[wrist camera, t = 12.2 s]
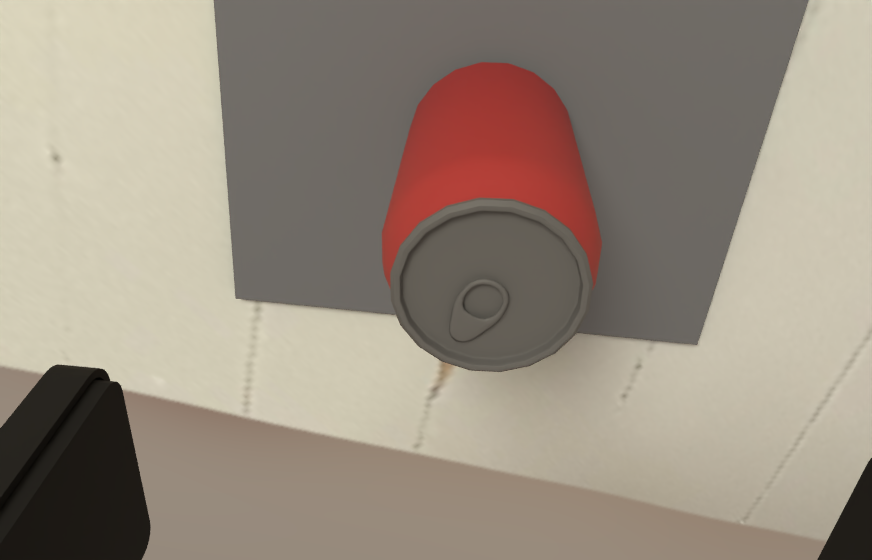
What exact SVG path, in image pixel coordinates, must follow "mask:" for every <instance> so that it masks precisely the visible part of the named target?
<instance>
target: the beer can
mask: <svg viewBox="0 0 872 560" xmlns="http://www.w3.org/2000/svg"><path fill="white" fill-rule="evenodd" d="M601 247H602V240H601V235H600V231H599V226H598V222H597V217H596V212H595V209H594V205H593V202H592V198H591V194H590V191H589V187H588V183H587V180H586V176H585V172H584V169H583V165H582V161H581V158H580V154H579V151H578V147H577V143H576V140H575V136H574V132H573V129H572V125H571V121H570V118H569V114H568V111H567V109H566V107H565V106H564V104H563V102H562V101H561V99H560V98H559V96H558V94H557V93H556V91H555V90H554V88H552V87H551V86H550V85H549V84H547V83H546V82H545V81H544V80H542V79H541V78H540V77H539V76H537V75H536V74H535V73H534V72H531V71H528V70H526V69H523V68H520V67H518V66H515V65H512V64H509V63H490V62H480V63H477V64H473V65H470V66H466V67H463V68H460V69H456V70H454V71H453V72H451V73H450V74H448V75H447V76H445V77H444V78H442V79H441V80H439V81H438V82H437V83H435V84H434V85H433V86H432V87H431V88H430V90H429V91H428V92H427V94H426V95H425V96H424V98H423V99H422V100H421V101H420V103H419V104H418V106H417V109H416V112H415V115H414V118H413V121H412V123H411V126H410V130H409V133H408V137H407V141H406V144H405V148H404V152H403V156H402V159H401V163H400V167H399V171H398V174H397V178H396V182H395V186H394V189H393V193H392V197H391V200H390V204H389V208H388V212H387V215H386V219H385V223H384V227H383V230H382V264H383V269H384V275H385V277H386V280H387V282H388V285H389V288H390V291H391V302H392V305H393V307H394V310H395V313H396V315H397V318H398V320H399V323H400V325H401V326H402V328H403V329H404V330H405V331H406V332H407V333H408V335H409V336H410V337H411V338H412V339H413V340H414V342H415V343H416V344H417V345H418V346H419V347H420V348H422V349H424V350H425V351H427V352H428V353H430V354H431V355H433V356H434V357H436V358H438V359H439V360H441V361H442V362H445V363H449V364H452V365H455V366H458V367H461V368H464V369H468V370H474V371H493V372H502V371H507V370H512V369H517V368H522V367H527V366H530V365H532V364H534V363H536V362H538V361H540V360H542V359H544V358H546V357H548V356H550V355H552V354H554V353H556V352H557V351H558V350H559V349H560V348H561V347H562V346H563V345H565V344H566V343H567V342H568V341H569V340H570V339H571V338H572V337H573V336H574V335H575V334H576V333H577V331H578V329H579V328H580V326H581V324H582V322H583V320H584V319H585V317H586V315H587V313H588V311H589V309H590V302H591V295H592V290H593V288H594V286H595V285H596V279H597V274H598V267H599V261H600V254H601Z"/></svg>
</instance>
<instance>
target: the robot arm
mask: <svg viewBox="0 0 872 560" xmlns="http://www.w3.org/2000/svg"><path fill="white" fill-rule="evenodd" d="M149 536H150V520H149V515H148V511H147V505H146V501H145V496H144V491H143V487H142V482H141V477H140V472H139V467H138V462H137V458H136V453H135V448H134V443H133V439H132V434H131V429H130V425H129V420H128V415H127V410H126V406H125V401H124V396H123V391H122V388H121V385H120V384H119V383H118V382H113V381H110V378H109V376H108V373H107V372H106V371H105V370H104V369H99V368H89V367H79V366H68V365H55V366H52V367H51V368H50V369H49V370H48V371H47V372H46V373H45V374H44V375H43V377H42V378H41V379H40V380H39V381H38V383H37V384H36V385H35V387H34V388H33V389H32V390H31V391H30V393H29V394H28V395H27V396H26V398H25V399H24V400H23V401H22V402H21V404H20V405H19V406H18V407H17V409H16V410H15V411H14V413H13V414H12V415H11V416H10V417H9V418H8V420H7V421H6V423H5V424H4V425H3V426H2V427H1V428H0V560H142V558H143V555H144V553H145V551H146V549H147V545H148V541H149ZM818 560H872V458H871V459H870V461H869V462H868V464H867V466H866V467H865V469H864V471H863V473H862V475H861V477H860V479H859V481H858V483H857V485H856V487H855V489H854V490H853V492H852V494H851V496H850V498H849V500H848V502H847V504H846V506H845V508H844V510H843V512H842V513H841V515H840V517H839V519H838V521H837V523H836V525H835V527H834V529H833V531H832V533H831V535H830V536H829V538H828V540H827V542H826V544H825V546H824V548H823V550H822V552H821V554H820V556H819V558H818Z"/></svg>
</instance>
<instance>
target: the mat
mask: <svg viewBox="0 0 872 560" xmlns="http://www.w3.org/2000/svg"><path fill="white" fill-rule="evenodd" d="M807 3H808V0H214V9H215V23H216V37H217V50H218V64H219V78H220V91H221V105H222V119H223V132H224V146H225V159H226V173H227V187H228V200H229V214H230V228H231V241H232V255H233V269H234V282H235V296H236V299H246V300H256V301H266V302H276V303H286V304H296V305H306V306H316V307H326V308H336V309H346V310H356V311H366V312H375V313H385V314H395V315H396V313H395V310H394V307H393V305H392V302H391V291H390V288H389V285H388V282H387V280H386V277H385V275H384V269H383V264H382V230H383V227H384V223H385V219H386V215H387V212H388V208H389V204H390V200H391V197H392V193H393V189H394V186H395V182H396V178H397V174H398V171H399V167H400V163H401V159H402V156H403V152H404V148H405V144H406V141H407V137H408V133H409V130H410V126H411V123H412V121H413V118H414V115H415V112H416V109H417V106H418V104H419V103H420V101H421V100H422V99H423V98H424V96H425V95H426V94H427V92H428V91H429V90H430V88H431V87H432V86H433V85H434V84H435V83H437V82H438V81H439V80H441V79H442V78H444V77H445V76H447V75H448V74H450V73H451V72H453V71H454V70H456V69H460V68H463V67H466V66H470V65H473V64H477V63H480V62H490V63H509V64H512V65H515V66H518V67H520V68H523V69H526V70H528V71H531V72H534V73H535V74H536V75H537V76H539V77H540V78H541V79H542V80H544V81H545V82H546V83H547V84H549V85H550V86H551V87H552V88H554V90H555V91H556V93H557V94H558V96H559V98H560V99H561V101H562V102H563V104H564V106H565V107H566V109H567V111H568V114H569V118H570V121H571V125H572V129H573V132H574V136H575V140H576V143H577V147H578V151H579V154H580V158H581V161H582V165H583V169H584V172H585V176H586V180H587V183H588V187H589V191H590V194H591V198H592V202H593V205H594V209H595V212H596V217H597V222H598V226H599V231H600V235H601V240H602V247H601V254H600V261H599V267H598V274H597V279H596V285H595V286H594V288H593V290H592V295H591V302H590V309H589V311H588V313H587V315H586V317H585V319H584V320H583V322H582V324H581V326H580V328H579V329H578V331H577V333H585V334H595V335H605V336H615V337H625V338H635V339H645V340H655V341H665V342H675V343H685V344H695V345H697V344H698V340H699V337H700V334H701V331H702V328H703V325H704V322H705V319H706V316H707V313H708V310H709V306H710V303H711V300H712V297H713V294H714V291H715V288H716V285H717V282H718V279H719V275H720V272H721V269H722V266H723V263H724V260H725V257H726V254H727V251H728V248H729V245H730V241H731V238H732V235H733V232H734V229H735V226H736V223H737V220H738V217H739V214H740V210H741V207H742V204H743V201H744V198H745V195H746V192H747V189H748V186H749V183H750V180H751V176H752V173H753V170H754V167H755V164H756V161H757V158H758V155H759V152H760V149H761V145H762V142H763V139H764V136H765V133H766V130H767V127H768V124H769V121H770V118H771V115H772V111H773V108H774V105H775V102H776V99H777V96H778V93H779V90H780V87H781V84H782V81H783V77H784V74H785V71H786V68H787V65H788V62H789V59H790V56H791V53H792V50H793V46H794V43H795V40H796V37H797V34H798V31H799V28H800V25H801V22H802V19H803V16H804V12H805V9H806V6H807Z"/></svg>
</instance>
